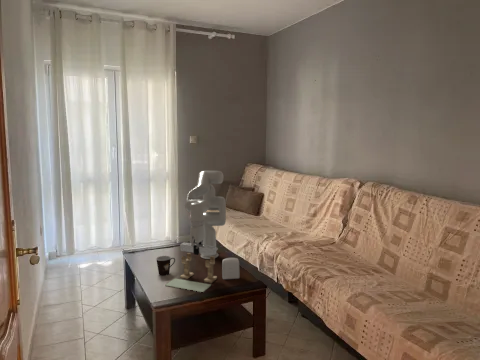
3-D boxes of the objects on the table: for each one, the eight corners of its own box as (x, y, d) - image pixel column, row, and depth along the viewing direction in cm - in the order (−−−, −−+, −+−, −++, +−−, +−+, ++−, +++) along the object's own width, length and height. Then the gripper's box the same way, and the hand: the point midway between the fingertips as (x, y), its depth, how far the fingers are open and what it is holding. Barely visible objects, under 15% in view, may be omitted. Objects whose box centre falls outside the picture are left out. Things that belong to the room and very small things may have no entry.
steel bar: (183, 248, 218) (183, 242, 217) (216, 253, 210) (216, 246, 209) (180, 250, 214) (180, 244, 214) (213, 255, 206) (213, 248, 205)
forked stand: (186, 273, 221) (185, 252, 219) (217, 278, 213) (216, 256, 211) (180, 277, 214) (179, 256, 212) (211, 282, 206) (211, 260, 204)
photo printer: (222, 279, 210) (222, 259, 209) (222, 277, 214) (221, 257, 213) (239, 279, 211) (239, 258, 210) (239, 276, 215) (238, 256, 214)
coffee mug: (157, 277, 215) (156, 261, 214) (156, 272, 223) (156, 256, 222) (176, 275, 218) (176, 259, 217) (175, 270, 226) (174, 254, 225)
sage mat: (175, 279, 212) (175, 278, 211) (211, 285, 202) (211, 284, 202) (165, 285, 202) (165, 284, 202) (202, 292, 193) (202, 291, 193)
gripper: (198, 219, 218) (199, 248, 221) (184, 226, 203) (185, 257, 206) (209, 220, 216) (210, 249, 218) (195, 227, 200) (196, 258, 203)
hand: (198, 252), depth 212 cm, fingers closed on steel bar, 4 cm apart
